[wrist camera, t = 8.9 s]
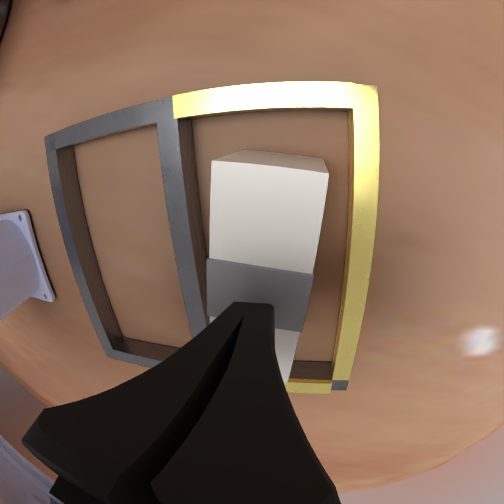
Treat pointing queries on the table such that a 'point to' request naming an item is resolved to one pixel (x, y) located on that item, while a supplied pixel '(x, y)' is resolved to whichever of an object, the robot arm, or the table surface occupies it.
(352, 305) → the rack
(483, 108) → the table surface
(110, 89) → the table surface
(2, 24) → the plant pot
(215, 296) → the white banded pillar
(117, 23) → the table surface
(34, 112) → the table surface
